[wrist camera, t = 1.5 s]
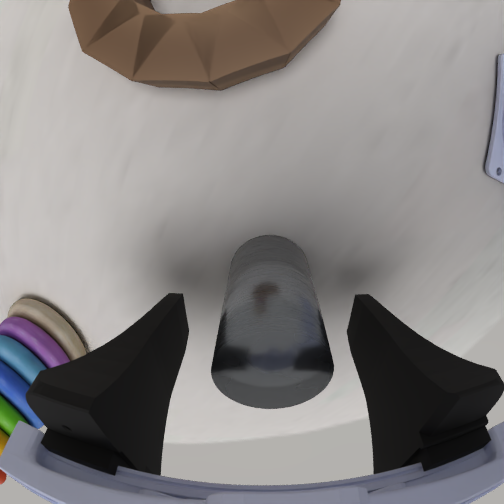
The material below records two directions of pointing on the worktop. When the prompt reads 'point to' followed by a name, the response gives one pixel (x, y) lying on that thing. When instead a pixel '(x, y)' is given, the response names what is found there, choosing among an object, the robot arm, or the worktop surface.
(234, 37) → the walnut bead
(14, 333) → the stacking toy
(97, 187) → the worktop surface
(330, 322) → the worktop surface
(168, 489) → the robot arm
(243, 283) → the steel peg
